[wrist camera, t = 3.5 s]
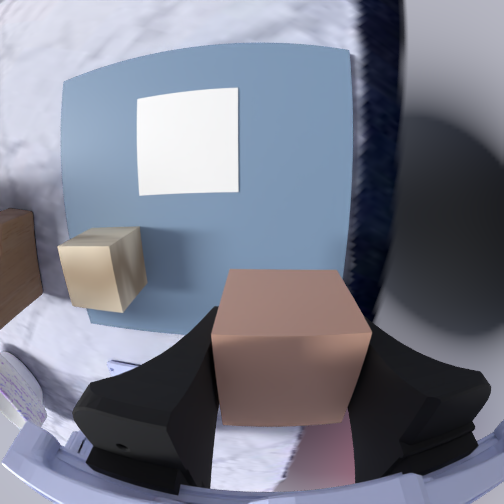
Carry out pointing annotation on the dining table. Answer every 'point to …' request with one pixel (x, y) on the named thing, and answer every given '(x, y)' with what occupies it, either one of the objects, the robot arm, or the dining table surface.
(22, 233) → the wooden block
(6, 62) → the dining table surface
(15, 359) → the paper bowls
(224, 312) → the terracotta block
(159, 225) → the board
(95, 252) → the maple block
